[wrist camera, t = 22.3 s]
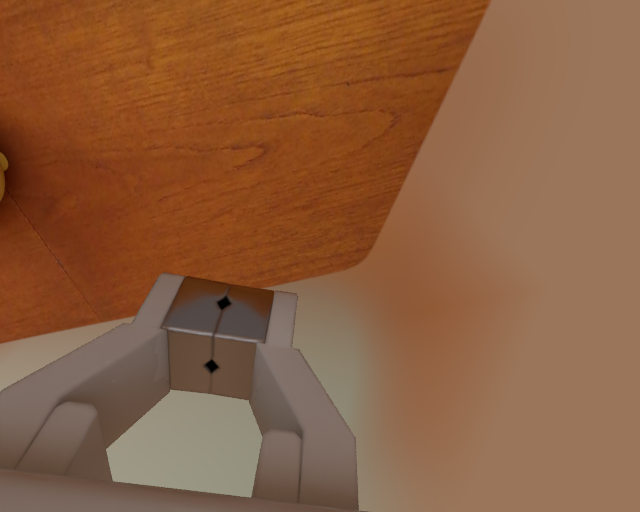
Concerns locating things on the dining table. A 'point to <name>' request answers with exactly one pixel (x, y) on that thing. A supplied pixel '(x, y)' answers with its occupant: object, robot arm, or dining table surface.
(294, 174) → the dining table surface
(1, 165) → the teapot
